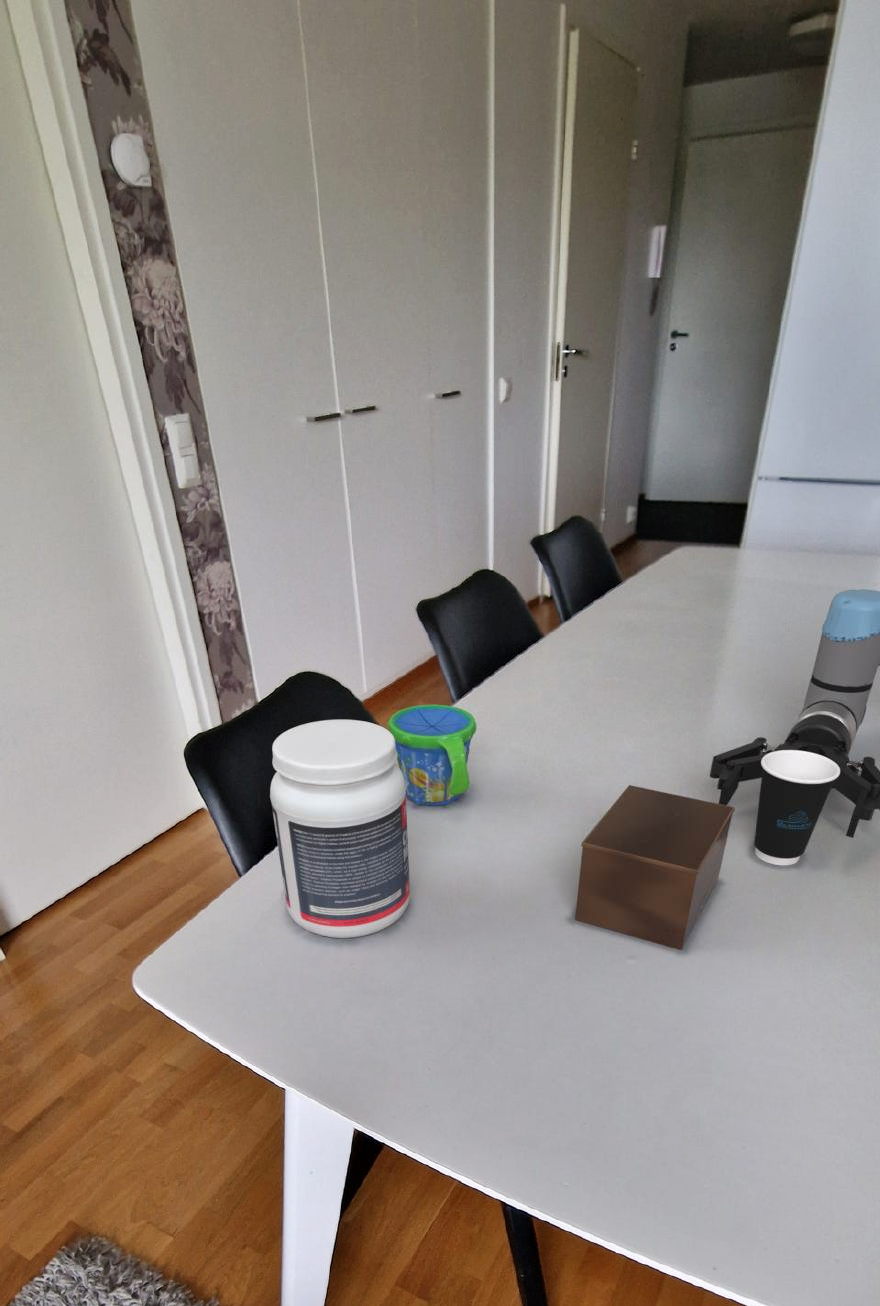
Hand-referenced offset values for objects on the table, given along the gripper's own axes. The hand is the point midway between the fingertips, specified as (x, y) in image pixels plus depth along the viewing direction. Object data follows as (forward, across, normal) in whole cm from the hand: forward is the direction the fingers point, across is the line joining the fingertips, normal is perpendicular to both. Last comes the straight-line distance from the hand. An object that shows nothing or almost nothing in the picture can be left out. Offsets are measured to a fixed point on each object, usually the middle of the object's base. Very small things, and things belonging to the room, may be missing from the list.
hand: (786, 811), depth 92 cm
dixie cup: (-1, 0, -6) cm, 6 cm away
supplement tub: (+31, +37, -6) cm, 48 cm away
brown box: (+15, +10, -6) cm, 19 cm away
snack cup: (+4, +42, -6) cm, 43 cm away
